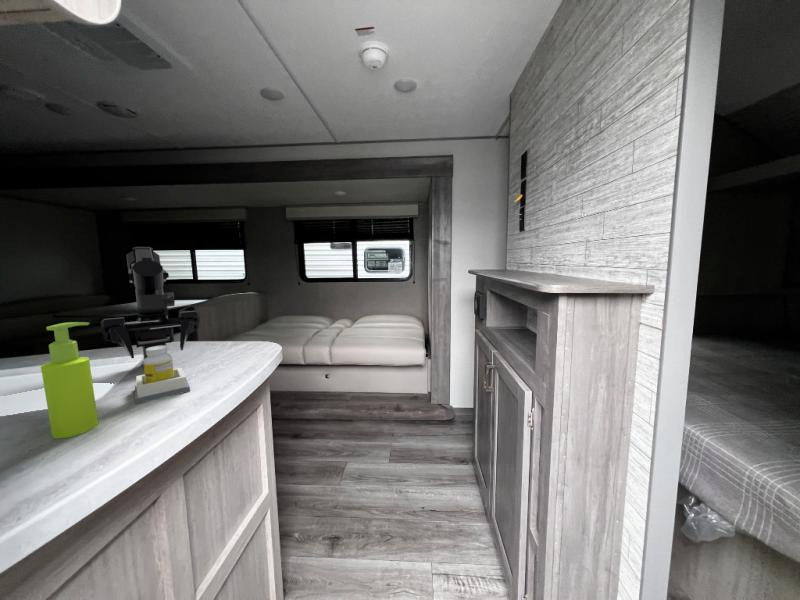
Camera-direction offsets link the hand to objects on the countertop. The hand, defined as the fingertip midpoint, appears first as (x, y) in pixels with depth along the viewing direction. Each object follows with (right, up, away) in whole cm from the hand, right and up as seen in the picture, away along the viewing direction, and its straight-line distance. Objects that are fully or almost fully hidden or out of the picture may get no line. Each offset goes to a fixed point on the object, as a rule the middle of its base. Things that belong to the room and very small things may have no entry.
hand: (158, 353), depth 72 cm
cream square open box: (0, -9, +1) cm, 9 cm away
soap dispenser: (-3, -12, -15) cm, 19 cm away
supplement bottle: (0, -8, +1) cm, 9 cm away
